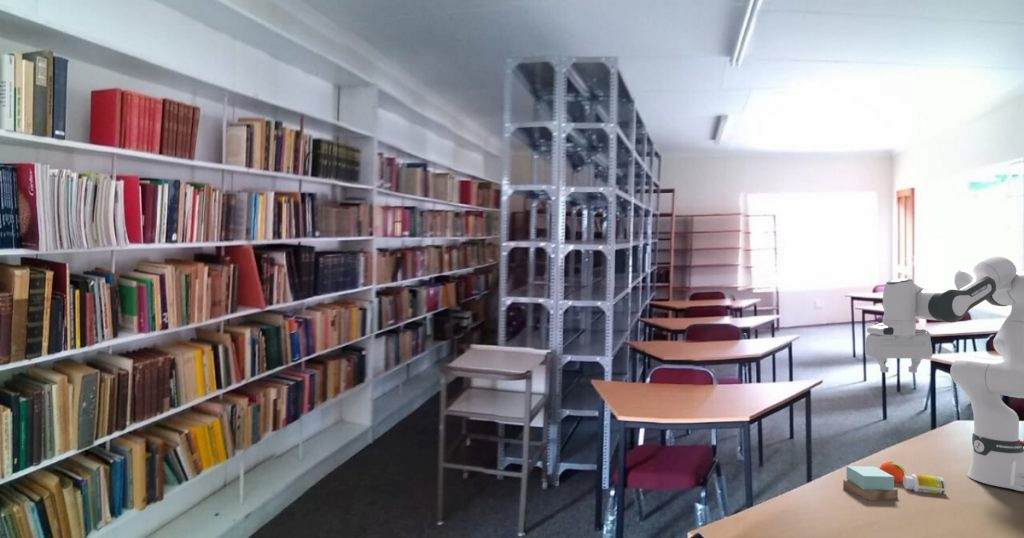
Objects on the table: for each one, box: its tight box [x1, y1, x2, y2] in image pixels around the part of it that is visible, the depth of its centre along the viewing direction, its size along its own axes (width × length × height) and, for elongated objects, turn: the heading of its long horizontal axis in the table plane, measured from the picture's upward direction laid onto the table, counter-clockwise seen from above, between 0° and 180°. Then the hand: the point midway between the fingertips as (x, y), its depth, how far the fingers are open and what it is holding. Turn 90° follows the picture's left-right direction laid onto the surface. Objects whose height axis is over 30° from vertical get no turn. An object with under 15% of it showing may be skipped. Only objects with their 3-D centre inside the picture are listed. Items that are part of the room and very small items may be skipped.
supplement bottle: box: [902, 473, 947, 495], centre depth 178 cm, size 6×6×10 cm
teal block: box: [846, 465, 895, 490], centre depth 175 cm, size 9×9×4 cm
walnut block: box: [842, 479, 899, 502], centre depth 175 cm, size 10×10×4 cm
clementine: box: [879, 461, 907, 483], centre depth 186 cm, size 8×7×7 cm
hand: (898, 372), depth 182 cm, fingers open, 8 cm apart
